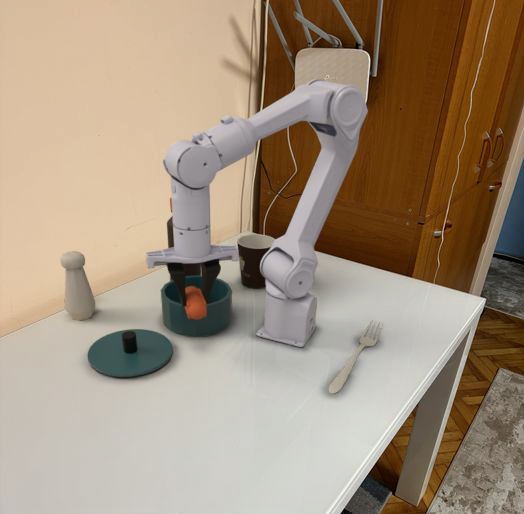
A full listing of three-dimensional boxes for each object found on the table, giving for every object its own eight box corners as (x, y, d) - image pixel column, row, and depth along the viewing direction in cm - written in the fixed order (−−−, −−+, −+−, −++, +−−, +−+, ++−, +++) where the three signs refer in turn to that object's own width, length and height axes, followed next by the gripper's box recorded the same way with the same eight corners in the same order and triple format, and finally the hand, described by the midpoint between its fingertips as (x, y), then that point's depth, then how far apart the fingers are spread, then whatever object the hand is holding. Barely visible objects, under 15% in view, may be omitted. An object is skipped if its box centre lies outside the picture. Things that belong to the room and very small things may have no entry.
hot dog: (208, 321, 83) (208, 305, 81) (190, 323, 82) (189, 307, 80) (198, 297, 90) (198, 282, 88) (181, 299, 89) (181, 283, 87)
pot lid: (188, 348, 92) (188, 328, 90) (135, 390, 81) (132, 368, 79) (127, 326, 98) (125, 306, 95) (70, 362, 87) (65, 341, 85)
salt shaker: (88, 324, 98) (77, 261, 91) (60, 320, 99) (48, 258, 92) (102, 310, 103) (93, 249, 96) (76, 306, 104) (65, 246, 97)
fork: (321, 390, 83) (322, 381, 82) (368, 326, 101) (370, 318, 100) (340, 397, 82) (341, 388, 81) (384, 331, 100) (386, 323, 99)
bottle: (185, 278, 117) (181, 191, 106) (207, 287, 114) (206, 198, 103) (164, 288, 112) (157, 198, 102) (186, 297, 109) (182, 205, 98)
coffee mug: (274, 291, 113) (276, 249, 108) (235, 290, 113) (235, 247, 108) (274, 270, 123) (276, 230, 118) (238, 268, 123) (238, 228, 117)
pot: (243, 314, 104) (244, 285, 100) (206, 343, 94) (205, 313, 90) (189, 297, 109) (188, 270, 106) (149, 324, 99) (146, 294, 95)
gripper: (231, 213, 83) (231, 288, 90) (141, 218, 79) (148, 296, 87) (242, 228, 77) (241, 306, 85) (145, 234, 74) (152, 315, 81)
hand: (194, 302), depth 85 cm, fingers closed on hot dog, 3 cm apart
